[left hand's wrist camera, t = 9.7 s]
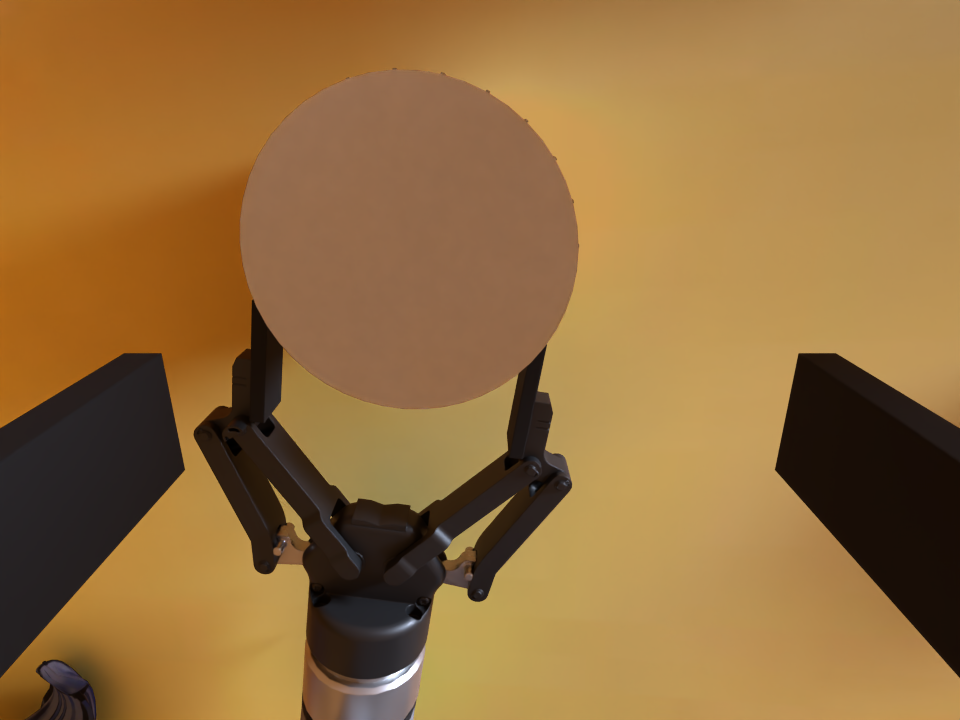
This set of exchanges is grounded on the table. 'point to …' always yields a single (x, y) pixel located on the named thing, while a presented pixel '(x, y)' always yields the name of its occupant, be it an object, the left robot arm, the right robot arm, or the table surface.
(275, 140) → the lid
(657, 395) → the table surface
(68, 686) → the dark grey angular piece
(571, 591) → the table surface
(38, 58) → the table surface
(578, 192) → the table surface
